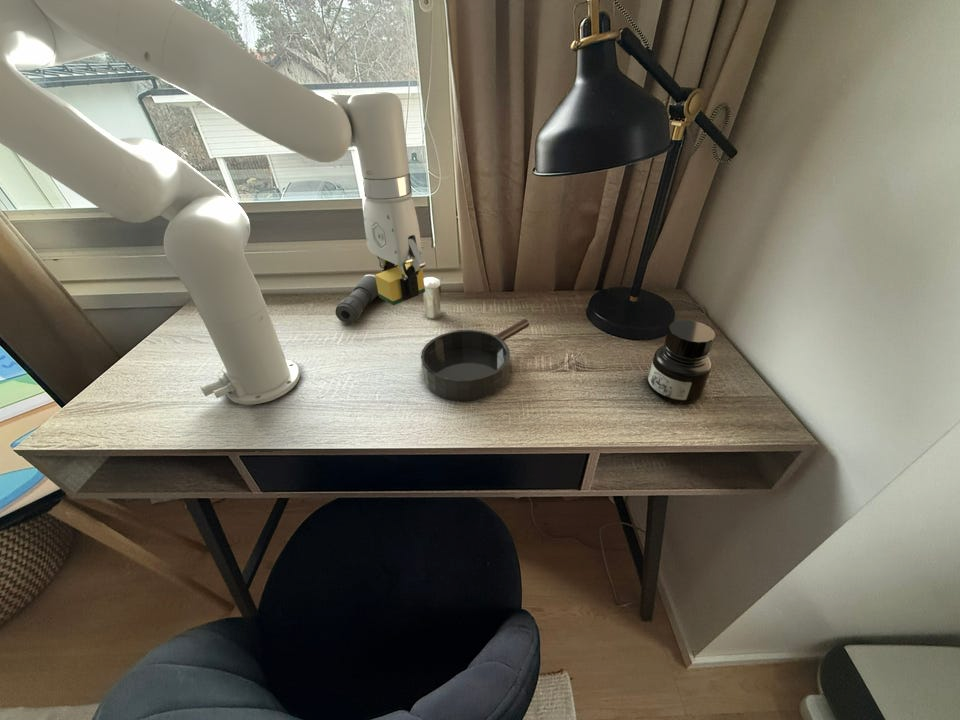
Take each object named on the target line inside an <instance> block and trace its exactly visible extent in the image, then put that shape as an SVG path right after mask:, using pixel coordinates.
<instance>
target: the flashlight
mask: <svg viewBox="0 0 960 720" xmlns="http://www.w3.org/2000/svg"><path fill="white" fill-rule="evenodd" d="M377 297H379V294H378V289H377V284H376V278H375V274H365V275H364V276H363V277H362V278H361V279H360V280H359V281H358V282H357V284H356V286H355V287H353V289H352V292H351V293H350V294H349V295H347V296H346V297H345V298H343V299H342V300H341V301H339V302H338V304H337V305H336V307H335V316H336V318H337V319H338V320H339V321H340V322H342V323H343V324H347V325H349V324H352V323H355V322H356V321H357V320H358V319H359V318H360V317H361V315H362V312H363V311H364V309H365V307H366V306H367V305H370V304H371V303H372V302H373V300H374V299H376V298H377Z"/></svg>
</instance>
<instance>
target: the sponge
mask: <svg viewBox="0 0 960 720" xmlns="http://www.w3.org/2000/svg"><path fill="white" fill-rule="evenodd" d="M405 266H406V270H407V269H408V267H409V266H410V263H407V264H405ZM374 276H375V278H376V284H377V289H378V298H379V299H381V300H383V301H385V302H386V303H389V305H392V306H397V305H398V304H402V303H403V302H405V301H406V300H404V299H403V297H402V290H401V283H400V279H401V278H402V275H401V272H400V268H399V265H398V266H397V267H394V268H392V269H389V270H386V271H384V272H382V271H381V272H379V273H375V274H374ZM424 278H425V277H424V270H423V268H422V269H421V270H420V271H419V275H417V280H418V288H419V295H421V294H422V293H424V292H425V285H424Z"/></svg>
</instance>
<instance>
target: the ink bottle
mask: <svg viewBox="0 0 960 720" xmlns="http://www.w3.org/2000/svg"><path fill="white" fill-rule="evenodd" d="M715 338H716V333H715V331H714V330H713V329H712V328H711V327H710V326H708V325H706V324H705V323H702V322H699V321H696V320H689V319H681V320H675V321H672V322H671V323H670V324H669V325H668V329H667V333H666V336H665V339H664V340H665V342H664V345H662V346H660V347H659V348H657V349H656V351H655V352H654V355H653V357H652V362H651V366H650V368H649V373H648V377H647V386H648V388H649V390H650V391H651V392H652V393H653V394H654V395H655V396H657V397H658V398H660V399H662V400H664V401H666V402H669V403H672V404H684V405H685V404H690V403H693V402H696V401H698V400H700V398H701V397H702V395H703V392H704V389H705V387H706V384H707V381H708V379H709V376H710V374H711V371H712V366H713V364H712V360H711V358H710V356H709V355H710V352H711V349H712V347H713V344H714V341H715Z"/></svg>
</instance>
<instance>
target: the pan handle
mask: <svg viewBox="0 0 960 720" xmlns="http://www.w3.org/2000/svg"><path fill="white" fill-rule="evenodd" d="M529 326H530V321H529V320H528V319H526V318H523V319H521V320H519V321H518V322H516V323H514V324H513V325H511V326H509V327H508V328H506V329H504V330H502V331H500V332H499V333H497V334H494V335H495V336H497V337H499V338H500V339H502V340H503V341H504V342H505V341H506V340H508V339H510V338H511V337H513V336H515V335H516V334H518V333H520V332H522V331H524V330H525V329H528V327H529Z"/></svg>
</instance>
